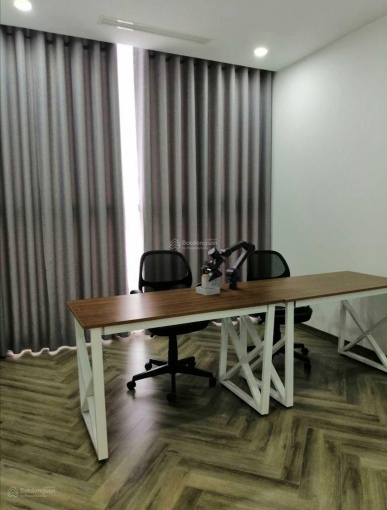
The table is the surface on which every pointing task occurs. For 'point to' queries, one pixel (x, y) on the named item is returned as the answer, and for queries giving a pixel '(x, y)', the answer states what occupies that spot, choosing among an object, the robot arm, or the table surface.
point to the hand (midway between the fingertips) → (204, 280)
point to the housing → (208, 290)
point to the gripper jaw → (206, 281)
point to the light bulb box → (216, 282)
